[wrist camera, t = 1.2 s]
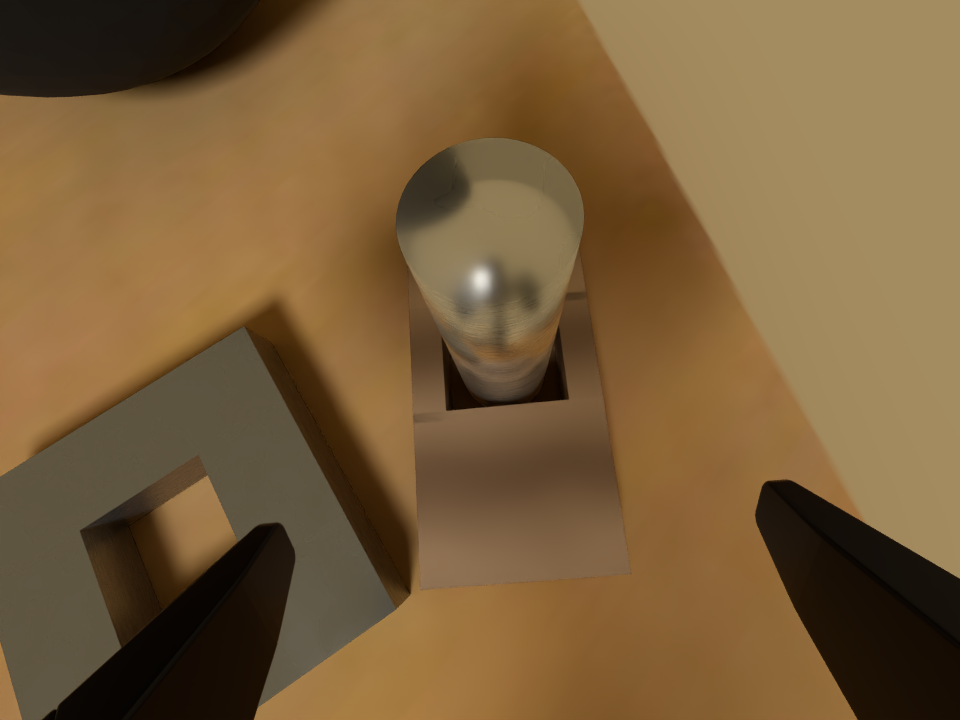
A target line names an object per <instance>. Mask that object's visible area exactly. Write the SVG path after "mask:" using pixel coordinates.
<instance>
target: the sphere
mask: <svg viewBox="0 0 960 720" xmlns="http://www.w3.org/2000/svg"><path fill="white" fill-rule="evenodd" d="M258 2H259V0H0V94H1V95H11V96H31V97H73V96H86V95H98V94H107V93H112V92H117V91H122V90H127V89H130V88H134V87H138V86H141V85H145V84H148V83H152V82H155V81H158V80H160V79H162V78H165V77H167V76H170V75H172V74H174V73H177V72H179V71H181V70H183V69H185V68H187V67H189V66H190V65H192V64H193V63H195V62H196V61H198V60H200V59H201V58H203V57H204V56H206V55H207V54H209V53H211V52H212V51H213V50H214V49H215V48H216V47H218V46H219V45H220V44H221V43H222V42H223V41H224V40H226V39H227V38H228V37H229V36H230V35H231V34H232V33H234V31H235V30H236V29H237V28H238V27H239V25H240V24H241V23H242V22H243V21H244V19H245V18H246V17H247V16H248V15H249V13H250V12H251V11H252V10H253V9H254V7H255V6H256V5H257V4H258Z"/></svg>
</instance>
